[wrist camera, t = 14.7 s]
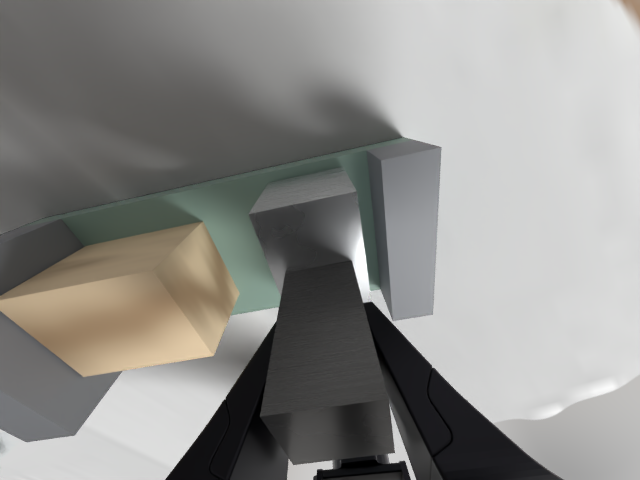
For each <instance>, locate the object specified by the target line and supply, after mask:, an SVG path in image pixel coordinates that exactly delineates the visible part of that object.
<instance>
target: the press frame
mask: <svg viewBox="0 0 640 480" xmlns="http://www.w3.org/2000/svg"><path fill="white" fill-rule="evenodd" d="M440 164H441V147H439V146H435V145H431V144H427V143H423V142H420V141H416V140H412V139H408V138H404V137H403V138H398V139H394V140H389V141H385V142H381V143H376V144H372V145H367V146H363V147H358V148H354V149H349V150H345V151H341V152H336V153H332V154H327V155H323V156H318V157H314V158H309V159H305V160H301V161H296V162H292V163H287V164H283V165H278V166H274V167H269V168H265V169H261V170H256V171H252V172H247V173H243V174H238V175H234V176H229V177H225V178H221V179H216V180H212V181H207V182H203V183H198V184H194V185H189V186H185V187H181V188H176V189H172V190H167V191H163V192H158V193H154V194H149V195H145V196H141V197H136V198H132V199H127V200H123V201H118V202H114V203H109V204H105V205H101V206H96V207H92V208H87V209H83V210H78V211H74V212H69V213H65V214H60V215H56V216H52V217H47V218H43V219H40V220H38V221H35V222H32V223H30V224H27V225H25V226H22V227H20V228H17V229H14V230H12V231H9V232H7V233H4V234H1V235H0V296H1V295H3V294H4V293H6V292H8V291H10V290H11V289H13V288H15V287H16V286H18V285H20V284H22V283H23V282H25V281H27V280H28V279H30V278H32V277H34V276H35V275H37V274H39V273H40V272H42V271H44V270H46V269H47V268H49V267H51V266H53V265H54V264H56V263H58V262H59V261H61V260H63V259H65V258H66V257H68V256H70V255H71V254H73V253H75V252H77V251H78V250H80V249H82V248H83V247H85V246H88V245H93V244H97V243H102V242H107V241H112V240H116V239H121V238H126V237H131V236H135V235H140V234H145V233H150V232H154V231H159V230H164V229H168V228H173V227H178V226H183V225H187V224H192V223H197V222H202V221H203V222H204V224H205V226H206V228H207V230H208V232H209V234H210V236H211V238H212V240H213V242H214V244H215V246H216V248H217V250H218V252H219V254H220V256H221V258H222V260H223V262H224V264H225V266H226V268H227V270H228V271H229V273H230V275H231V277H232V279H233V281H234V283H235V285H236V287H237V289H238V291H239V296H238V298H237V301H236V303H235V305H234V308H233V310H232V313H231V315H236V314H242V313H247V312H253V311H259V310H264V309H270V308H276V307H279V305H280V299H281V296H280V293H279V291H278V288H277V286H276V283H275V281H274V278H273V276H272V273H271V270H270V268H269V265H268V263H267V260H266V258H265V255H264V253H263V250H262V248H261V245H260V243H259V240H258V237H257V235H256V232H255V230H254V227H253V225H252V222H251V220H250V217H249V215H248V214H249V212H250V211H251V209H252V208H253V206H254V205H255V203H256V201H257V200H258V198H259V197H260V195H261V194H262V192H263V191H264V189H265V187H266V186H267V184H268V183H270V182H275V181H279V180H284V179H288V178H293V177H297V176H302V175H306V174H311V173H316V172H320V171H325V170H329V169H334V168H338V167H343V168H344V169H345V171H346V173H347V175H348V177H349V178H350V180H351V182H352V184H353V185H354V187H355V189H356V191H357V197H358V204H359V212H360V219H361V227H362V234H363V242H364V249H365V257H366V265H367V272H368V280H369V287H370V291H373V290H379V289H381V291H382V294H383V297H384V299H385V302H386V304H387V307H388V310H389V312H390V315H391V317H392V320H393V321H396V320H402V319H409V318H415V317H421V316H427V315H433V303H434V283H435V263H436V243H437V223H438V204H439V184H440ZM121 372H122V371H117V372H111V373H105V374H99V375H93V376H87V377H83V376H82V375H80V374H79V373H78V372H77V371H75V370H74V369H73V368H71V367H70V366H69V365H68V364H66V363H65V362H64V361H63V360H61V359H60V358H59V357H58V356H56V355H55V354H54V353H53V352H51V351H50V350H49V349H48V348H46V347H45V346H44V345H43V344H41V343H40V342H39V341H37V340H36V339H35V338H34V337H32V336H31V335H30V334H29V333H27V332H26V331H25V330H24V329H22V328H21V327H20V326H19V325H17V324H16V323H15V322H14V321H12V320H11V319H10V318H9V317H7V316H6V315H5V314H3V313H2V312H1V311H0V429H1V430H3V431H5V432H7V433H9V434H11V435H13V436H15V437H17V438H19V439H21V440H23V441H25V442H31V441H38V440H46V439H53V438H60V437H67V436H74V435H75V434H76V433H77V432H78V430H79V429H80V428H81V426H82V425H83V424H84V422H85V421H86V419H87V418H88V417H89V415H90V414H91V413H92V411H93V410H94V409H95V407H96V406H97V405H98V403H99V402H100V401H101V399H102V398H103V397H104V395H105V394H106V392H107V391H108V390H109V388H110V387H111V386H112V384H113V383H114V382H115V380H116V379H117V378H118V376H119V375H120V374H121Z"/></svg>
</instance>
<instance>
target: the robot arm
mask: <svg viewBox="0 0 640 480" xmlns="http://www.w3.org/2000/svg"><path fill="white" fill-rule="evenodd" d="M363 304H364V308H365V312H366V315H367V319H368V323H369V327H370V331H371V334H372V338H373V342H374V346H375V349H376V353H377V357H378V361H379V365H380V368H381V372H382V376H383V380H384V384H385V387H386V391H387V395H388V399H389V404H390V407H391V410H392V412H393V415H394V418H395V421H396V424H397V426H398V429H399V432H400V435H401V438H402V440H403V443H404V446H405V449H406V451H407V454H408V457H409V460H410V463H411V466H412V468H413V471H414V474H415V477H416V480H563V479H562V478H560V477H559V476H557V475H555V474H554V473H552V472H551V471H549V470H547V469H546V468H545V467H543V466H542V465H541V464H539V463H538V462H537V461H535V460H534V459H533V458H531V457H530V456H529V455H527V454H526V453H525V452H524V451H523V450H522V449H521V448H520V447H518V446H517V445H516V444H515V443H514V442H513V441H511V440H510V439H509V438H508V437H507V436H506V435H505V434H504V433H503V432H501V431H500V430H499V429H498V428H497V427H496V426H495V425H494V424H492V423H491V422H490V421H489V420H488V419H487V418H486V417H485V416H483V415H482V414H481V413H480V412H479V411H478V410H477V409H475V408H474V407H473V406H472V405H471V404H470V403H469V402H468V401H467V400H466V399H465V398H463V397H462V396H461V395H460V394H459V393H458V392H457V391H456V390H455V389H454V388H453V387H452V386H451V385H450V384H449V383H448V382H447V381H446V380H445V379H444V378H443V377H442V376H441V375H440V374H439V373H438V371H437V370H436V369H435V368H432V365H431V364H430V363H429V362H428V361H427V360H426V359H425V358H424V357H423V356H422V355H421V354H420V352H419V351H418V350H417V349H416V348H415V347H414V346H413V345H412V344H411V343H410V342H409V341H408V340H407V339H406V338H405V336H404V335H403V334H402V333H401V332H400V331H399V330H398V329H397V328H396V327H395V326H394V325H393V324H392V323H391V322H390V320H389V319H388V318H387V317H386V316H385V315H384V314H383V313H382V312H381V311H380V310H379V309H378V308H377V307H376V306H375V304H374V303H373V302H371V301H369V302H364V303H363ZM276 322H277V321H276ZM275 328H276V323H275V324H274V326H273V327H272V329H271V330H270V332H269V333H268V335H267V336H266V338H265V339H264V341H263V342H262V344H261V345H260V347H259V348H258V350H257V351H256V353H255V354H254V356H253V357H252V359H251V360H250V362H249V363H248V365H247V366H246V368H245V369H244V371H243V372H242V374H241V375H240V377H239V378H238V380H237V381H236V383H235V384H234V386H233V387H232V389H231V390H230V392H229V393H228V395H227V396H226V400H224V401H223V402H222V404H221V405H220V407H219V408H218V410H217V411H216V412H215V414H214V415H213V417H212V418H211V420H210V421H209V423H208V424H207V425H206V427H205V428H204V430H203V431H202V432H201V434H200V435H199V436H198V438H197V439H196V440H195V442H194V443H193V444H192V446H191V447H190V448H189V450H188V451H187V452H186V453H185V455H184V456H183V457H182V459H181V460H180V461H179V462H178V464H177V465H176V466H175V468H174V469H173V470H172V472H171V473H170V474H169V475H168V477H167V478H166V479H165V480H287V470H288V456H287V455H286V454H285V452H284V451H283V449H282V448H281V446H280V445H279V443H278V442H277V441H276V439H275V438H274V436H273V435H272V433H271V432H270V431H269V429H268V428H267V426H266V425H265V423H264V422H263V421H262V419H261V418H260V413H261V407H262V402H263V396H264V390H265V385H266V379H267V373H268V368H269V362H270V356H271V350H272V345H273V339H274V333H275ZM313 480H411V479H410V476H409V473H408V469H407V466H406V463H405V461H400V462H399V463H391V464H390V463H389V458H388V454H381V455H373V456H364V457H356V458H347V459H339V460H333V469H331V470H322V469H318V470H317V475H316V476H314V478H313Z"/></svg>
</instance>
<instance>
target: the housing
mask: <svg viewBox="0 0 640 480" xmlns="http://www.w3.org/2000/svg"><path fill="white" fill-rule="evenodd" d="M238 296H239V291H238V289H237V287H236V285H235V283H234V281H233V279H232V277H231V275H230V273H229V271H228V270H227V268H226V266H225V264H224V262H223V260H222V258H221V256H220V254H219V252H218V250H217V248H216V246H215V244H214V242H213V240H212V238H211V236H210V234H209V232H208V230H207V228H206V226H205V224H204V222H203V221H202V222H197V223H192V224H187V225H183V226H178V227H173V228H168V229H164V230H159V231H154V232H150V233H145V234H140V235H135V236H131V237H126V238H121V239H116V240H112V241H107V242H102V243H97V244H93V245H88V246H85V247H83V248H82V249H80V250H78V251H77V252H75V253H73V254H71V255H70V256H68V257H66V258H65V259H63V260H61V261H59V262H58V263H56V264H54V265H53V266H51V267H49V268H47V269H46V270H44V271H42V272H40V273H39V274H37V275H35V276H34V277H32V278H30V279H28V280H27V281H25V282H23V283H22V284H20V285H18V286H16V287H15V288H13V289H11V290H10V291H8V292H6V293H4V294H3V295H1V296H0V311H1V312H2V313H3V314H5V315H6V316H7V317H9V318H10V319H11V320H12V321H14V322H15V323H16V324H17V325H19V326H20V327H21V328H22V329H24V330H25V331H26V332H27V333H29V334H30V335H31V336H32V337H34V338H35V339H36V340H37V341H39V342H40V343H41V344H43V345H44V346H45V347H46V348H48V349H49V350H50V351H51V352H53V353H54V354H55V355H56V356H58V357H59V358H60V359H61V360H63V361H64V362H65V363H66V364H68V365H69V366H70V367H71V368H73V369H74V370H75V371H77V372H78V373H79V374H80V375H82V376H83V377H87V376H93V375H99V374H105V373H111V372H117V371H124V370H130V369H136V368H142V367H148V366H155V365H161V364H167V363H173V362H179V361H186V360H192V359H198V358H204V357H210V356H214V354H215V352H216V349H217V347H218V345H219V342H220V340H221V337H222V335H223V332H224V330H225V327H226V325H227V323H228V320H229V318H230V315H231V313H232V310H233V308H234V305H235V303H236V301H237V298H238Z"/></svg>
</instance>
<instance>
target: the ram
mask: <svg viewBox="0 0 640 480" xmlns="http://www.w3.org/2000/svg"><path fill="white" fill-rule="evenodd" d="M248 215H249V217H250V220H251V222H252V225H253V227H254V230H255V232H256V235H257V237H258V240H259V243H260V245H261V248H262V250H263V253H264V255H265V258H266V260H267V263H268V265H269V268H270V270H271V273H272V276H273V278H274V281H275V283H276V286H277V288H278V291H279V293H280V296H281V299H280V305H279V311H278V316H277V322H276V328H275V333H274V339H273V345H272V350H271V356H270V362H269V368H268V373H267V379H266V385H265V390H264V396H263V402H262V407H261V413H260V418H261V419H262V421H263V422H264V423H265V425H266V426H267V428H268V429H269V431H270V432H271V433H272V435H273V436H274V438H275V439H276V441H277V442H278V443H279V445H280V446H281V448H282V449H283V451H284V452H285V454H286V455H287V456H288V458H289V459H290V461H291V462H292V463H293V465H297V464H304V463H313V462H321V461H330V460H339V459H347V458H356V457H364V456H373V455H381V454H389V453H395V451H394V442H393V433H392V424H391V416H390V407H389V399H388V395H387V391H386V387H385V384H384V380H383V376H382V372H381V368H380V365H379V361H378V357H377V353H376V349H375V346H374V342H373V338H372V334H371V331H370V327H369V323H368V319H367V315H366V312H365V308H364V304H363V303H364V302H369V301H371V295H370V287H369V280H368V272H367V265H366V257H365V249H364V242H363V234H362V227H361V219H360V212H359V204H358V197H357V191H356V189H355V187H354V185H353V184H352V182H351V180H350V178H349V177H348V175H347V173H346V171H345V169H344V168H343V167H338V168H334V169H329V170H325V171H320V172H316V173H311V174H306V175H302V176H297V177H293V178H288V179H284V180H279V181H275V182H270V183H268V184H267V186H266V187H265V189H264V191H263V192H262V194H261V195H260V197H259V198H258V200H257V201H256V203H255V205H254V206H253V208H252V209H251V211H250V212H249V214H248Z"/></svg>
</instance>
